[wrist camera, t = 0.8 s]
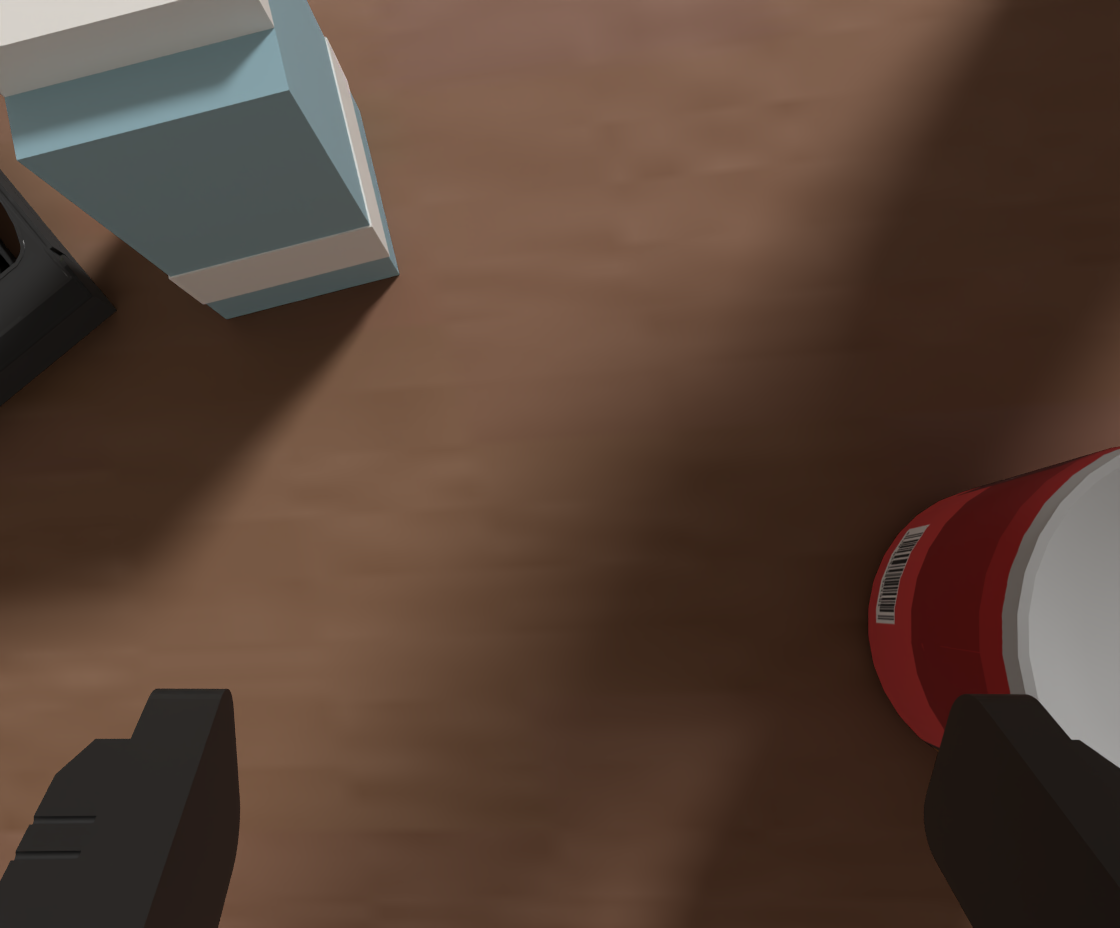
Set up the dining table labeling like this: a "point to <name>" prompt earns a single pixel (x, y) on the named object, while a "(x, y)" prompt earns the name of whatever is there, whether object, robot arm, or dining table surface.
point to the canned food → (1008, 601)
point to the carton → (201, 141)
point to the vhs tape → (40, 298)
